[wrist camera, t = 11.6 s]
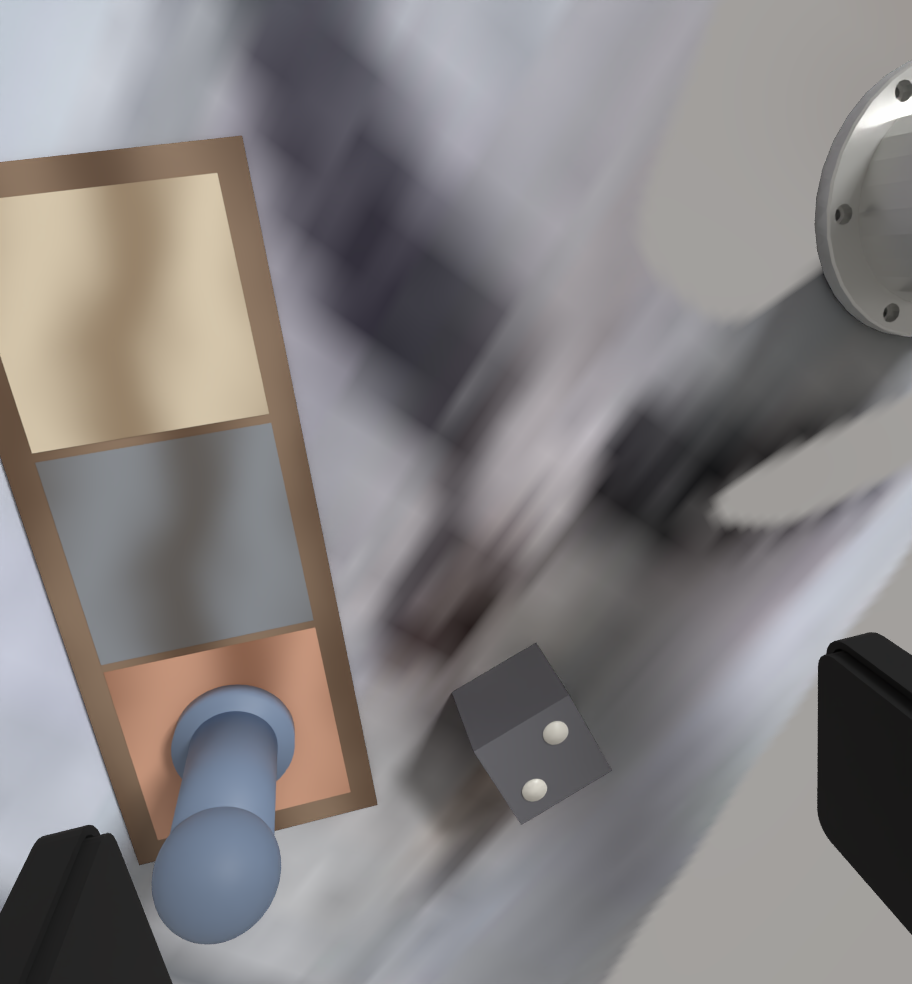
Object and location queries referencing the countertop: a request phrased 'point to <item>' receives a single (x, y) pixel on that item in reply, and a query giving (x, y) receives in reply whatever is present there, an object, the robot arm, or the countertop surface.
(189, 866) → the pawn
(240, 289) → the board
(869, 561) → the countertop surface
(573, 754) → the die
